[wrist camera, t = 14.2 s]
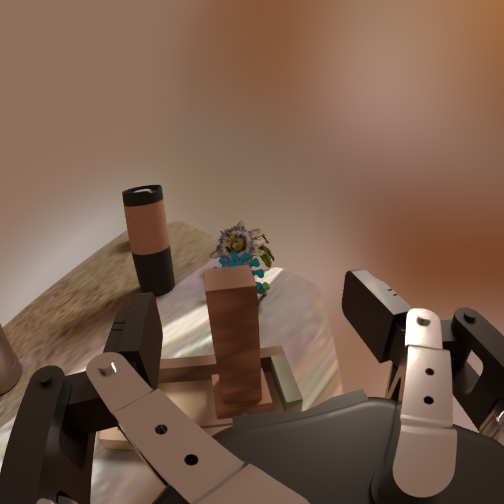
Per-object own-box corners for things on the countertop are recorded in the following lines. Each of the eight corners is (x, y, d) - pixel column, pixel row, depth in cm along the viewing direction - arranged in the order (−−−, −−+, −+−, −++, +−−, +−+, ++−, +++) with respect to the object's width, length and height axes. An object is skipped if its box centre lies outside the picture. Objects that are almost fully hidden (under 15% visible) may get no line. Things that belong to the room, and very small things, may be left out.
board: (106, 448, 23) (89, 425, 21) (118, 386, 32) (107, 361, 30) (303, 433, 25) (307, 409, 24) (280, 371, 35) (281, 345, 33)
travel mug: (142, 280, 60) (126, 188, 53) (176, 276, 61) (163, 183, 54) (137, 298, 53) (117, 195, 46) (175, 294, 54) (160, 188, 47)
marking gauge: (218, 427, 25) (192, 304, 19) (213, 384, 31) (193, 267, 25) (274, 418, 26) (274, 294, 20) (262, 377, 31) (257, 260, 26)
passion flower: (238, 295, 64) (200, 257, 60) (245, 266, 73) (212, 231, 69) (280, 272, 59) (242, 229, 55) (282, 244, 68) (249, 205, 64)
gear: (198, 293, 51) (222, 243, 54) (212, 301, 56) (233, 255, 59) (253, 316, 47) (277, 260, 49) (263, 322, 52) (284, 272, 54)
